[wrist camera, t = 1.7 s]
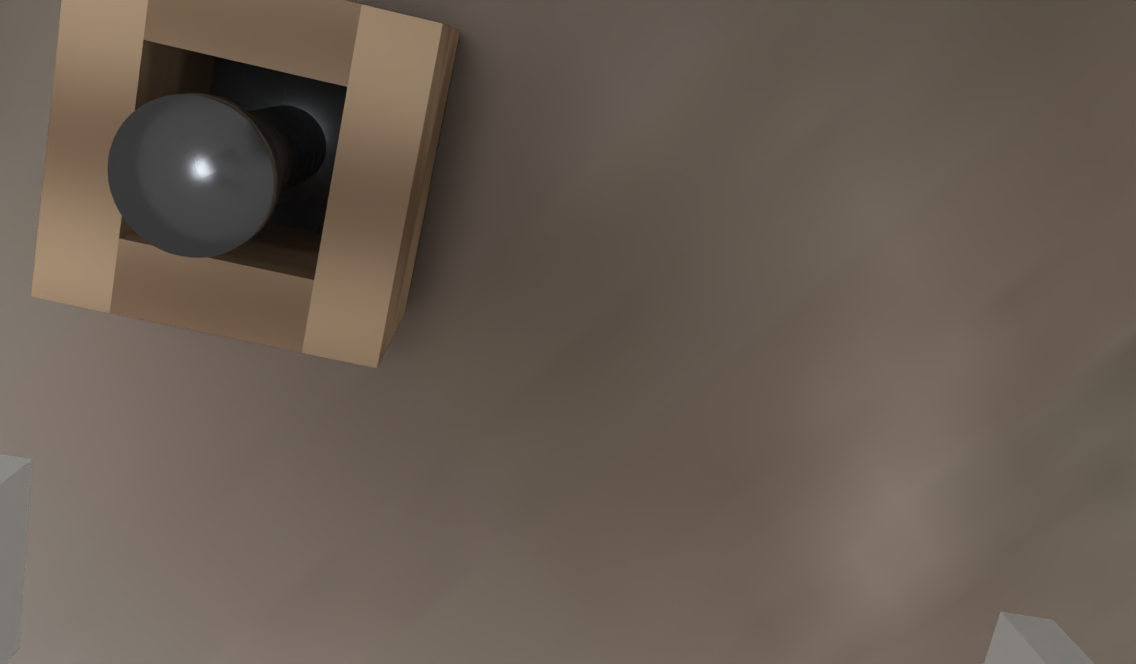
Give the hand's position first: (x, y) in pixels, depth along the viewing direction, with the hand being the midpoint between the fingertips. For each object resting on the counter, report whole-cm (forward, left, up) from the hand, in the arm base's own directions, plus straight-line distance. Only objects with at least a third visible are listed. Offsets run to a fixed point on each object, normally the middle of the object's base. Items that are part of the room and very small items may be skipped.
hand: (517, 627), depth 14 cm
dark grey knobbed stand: (-3, -8, -21) cm, 22 cm away
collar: (-3, -8, -20) cm, 22 cm away
